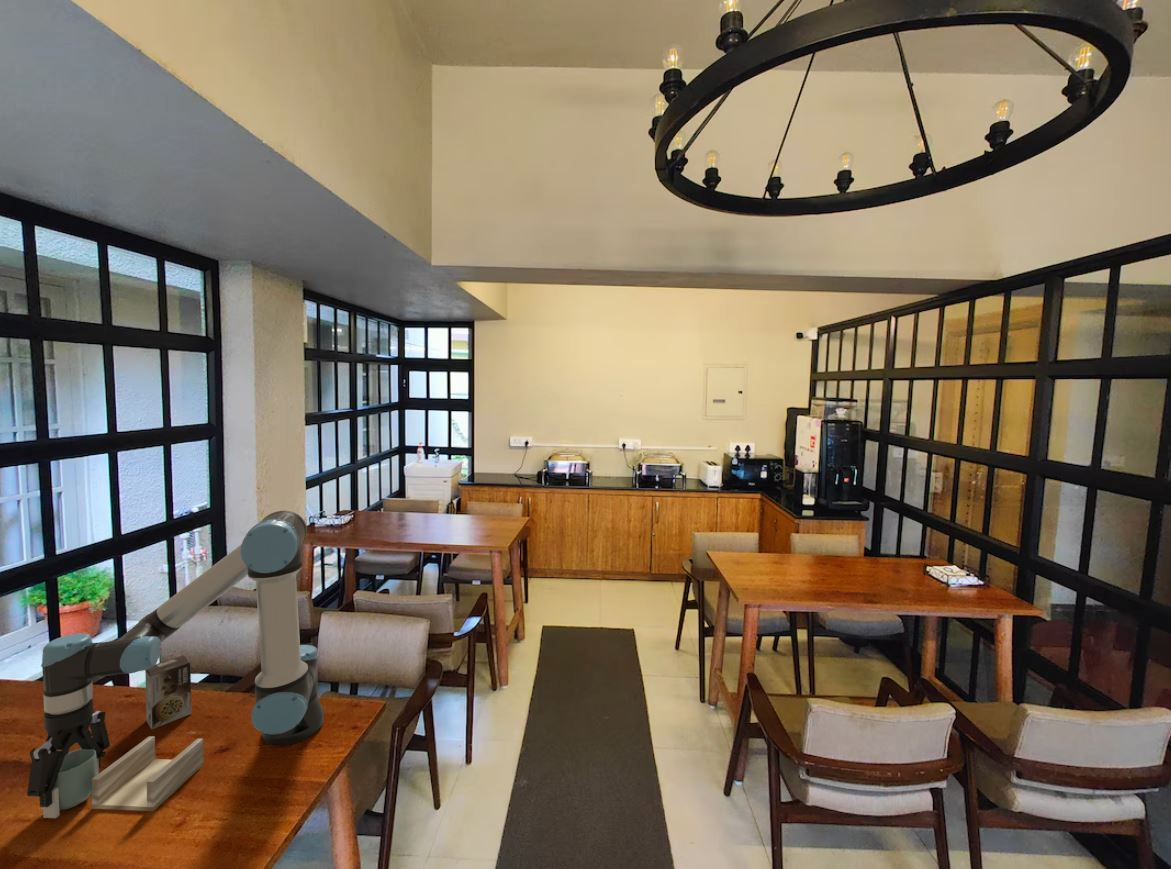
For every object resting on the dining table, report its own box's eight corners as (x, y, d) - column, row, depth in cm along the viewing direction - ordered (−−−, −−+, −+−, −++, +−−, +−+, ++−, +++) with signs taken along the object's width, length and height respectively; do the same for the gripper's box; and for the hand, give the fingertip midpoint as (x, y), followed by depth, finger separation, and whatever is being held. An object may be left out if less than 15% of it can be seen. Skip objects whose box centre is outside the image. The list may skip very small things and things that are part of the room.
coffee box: (185, 705, 144) (185, 654, 143) (192, 714, 140) (191, 661, 139) (145, 720, 136) (144, 666, 135) (151, 730, 133) (150, 675, 132)
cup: (64, 819, 104) (62, 776, 103) (38, 812, 105) (35, 770, 105) (106, 791, 111) (105, 751, 111) (81, 785, 113) (79, 745, 112)
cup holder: (203, 764, 121) (203, 738, 121) (153, 811, 107) (153, 781, 107) (149, 762, 121) (148, 736, 121) (92, 808, 107) (91, 779, 107)
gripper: (99, 678, 117) (102, 765, 119) (-5, 736, 97) (0, 841, 98) (129, 679, 117) (132, 766, 119) (32, 737, 97) (36, 842, 98)
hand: (72, 800), depth 108 cm, fingers closed on cup, 8 cm apart
